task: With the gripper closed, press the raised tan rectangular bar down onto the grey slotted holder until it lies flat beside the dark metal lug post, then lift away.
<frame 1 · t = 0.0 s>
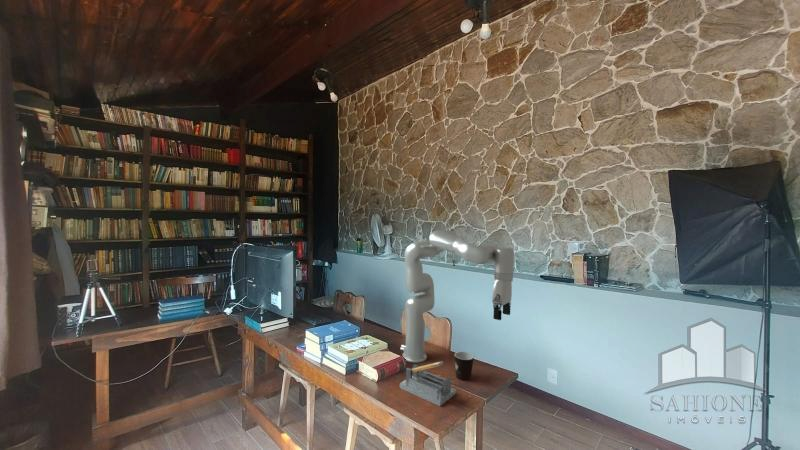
hand: (501, 316, 140), 31 cm above the table, fingers open, 9 cm apart
grey slotted holder: (427, 390, 138), on the table
tan rectangular bar: (425, 367, 139), point 10 cm above the table, hinge at 28.0°
coffee mug: (463, 376, 152), on the table
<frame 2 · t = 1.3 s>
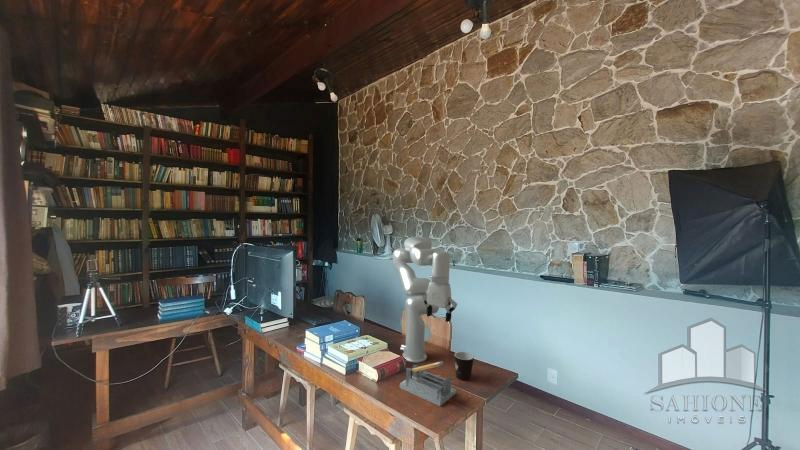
hand: (438, 318, 145), 28 cm above the table, fingers open, 9 cm apart
nothing on the table moved.
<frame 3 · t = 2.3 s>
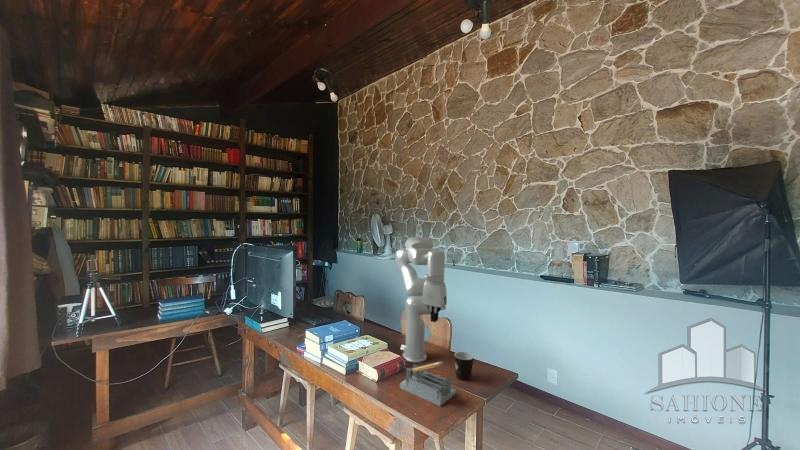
hand: (434, 321, 144), 27 cm above the table, fingers closed
nothing on the table moved.
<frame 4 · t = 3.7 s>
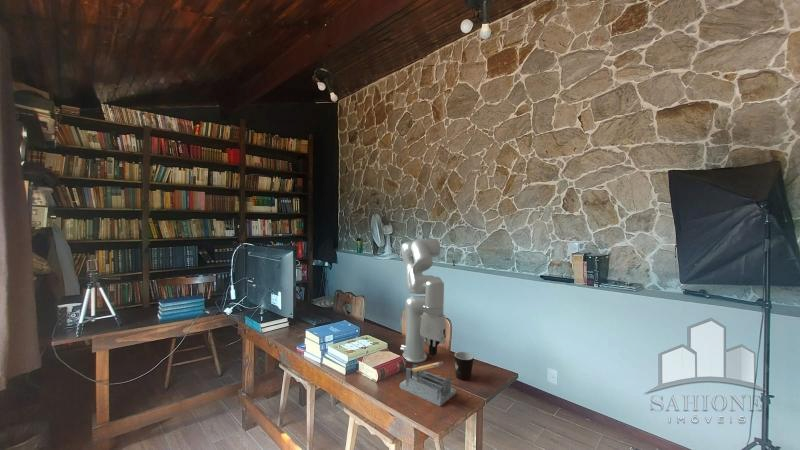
hand: (432, 354, 136), 16 cm above the table, fingers closed
nothing on the table moved.
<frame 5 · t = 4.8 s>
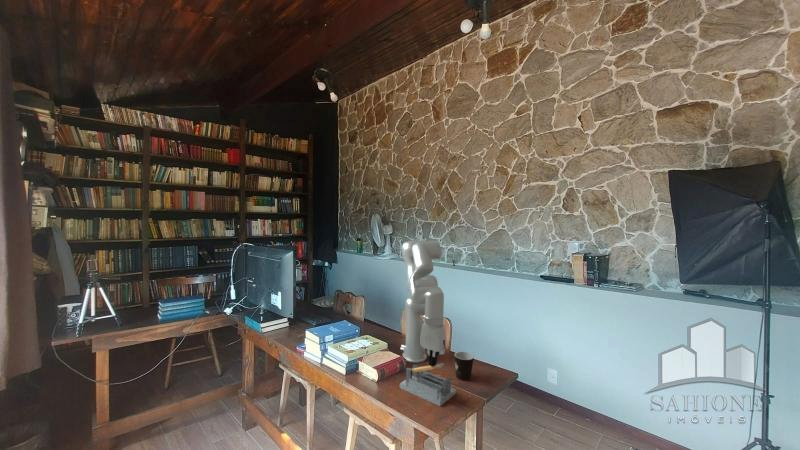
hand: (432, 364, 136), 12 cm above the table, fingers closed
tan rectangular bar: (425, 368, 139), point 9 cm above the table, hinge at 25.1°, touching gripper
everything else where it was.
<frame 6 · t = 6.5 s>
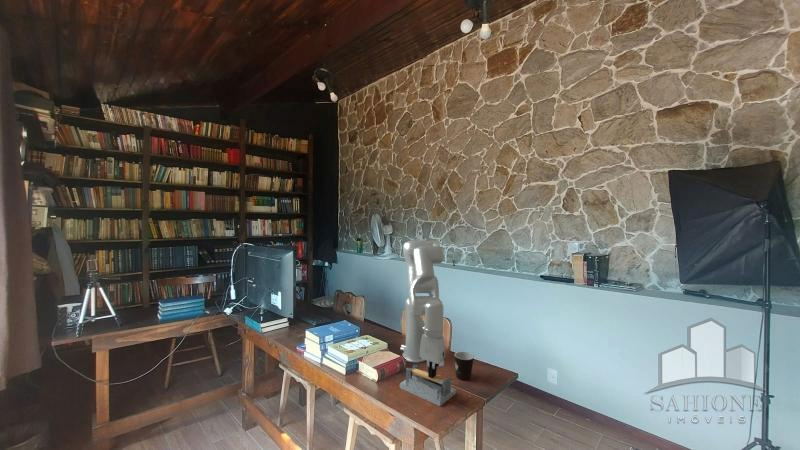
hand: (432, 376, 136), 7 cm above the table, fingers closed
tan rectangular bar: (426, 375, 138), point 6 cm above the table, hinge at 2.7°, touching gripper
everything else where it was.
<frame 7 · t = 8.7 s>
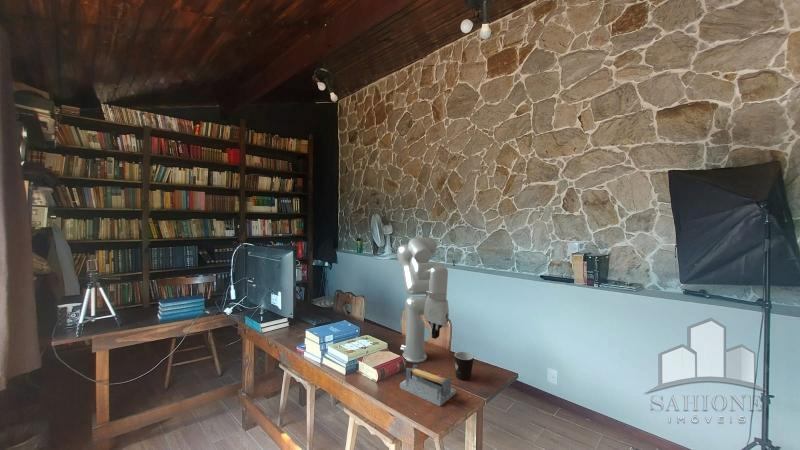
hand: (435, 337, 142), 21 cm above the table, fingers closed
tan rectangular bar: (426, 375, 138), point 6 cm above the table, hinge at 2.4°
everything else where it was.
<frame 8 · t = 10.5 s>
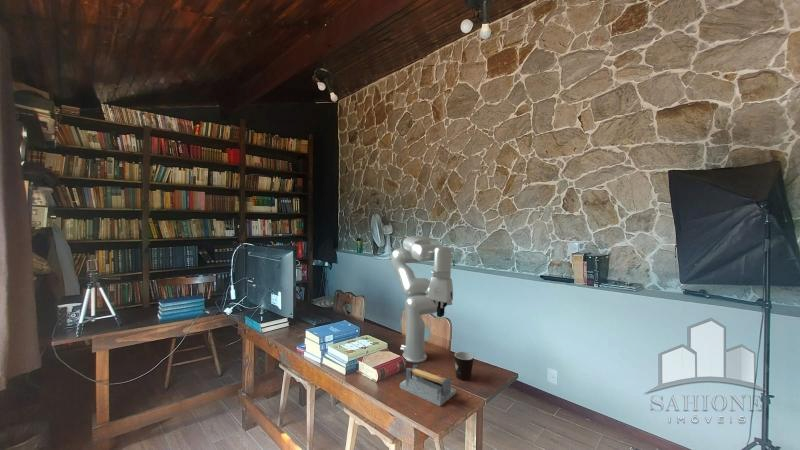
hand: (440, 316, 146), 29 cm above the table, fingers closed
nothing on the table moved.
at the end: tan rectangular bar at +2° (first picture: +28°); tan rectangular bar touching nothing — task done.
